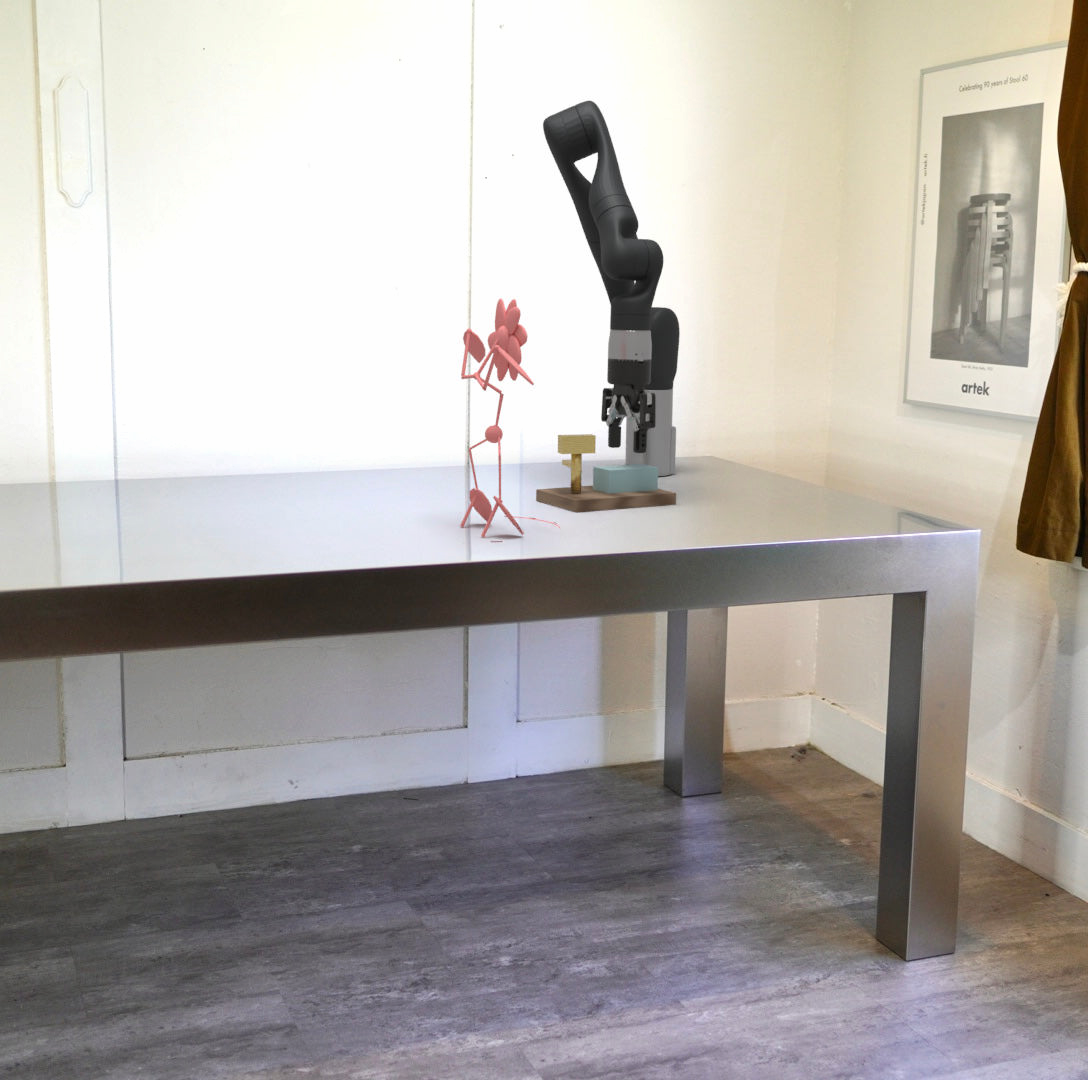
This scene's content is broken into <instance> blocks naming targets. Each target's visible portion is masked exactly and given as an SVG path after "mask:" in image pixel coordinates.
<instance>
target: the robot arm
mask: <svg viewBox="0 0 1088 1080" xmlns="http://www.w3.org/2000/svg"><path fill="white" fill-rule="evenodd" d="M542 123H543V124H542V128H543V134H544V137H545V141H546V143H547V146H548V148H549V150H550V153H551V155H552V157H553V159H554V162H555V164H556V166H557V168H558V170H559V173H560V174H561V177H562V179H563V181H564V183H565V186H566V187H567V191H568V193H569V195H570V198H571V200H572V202H573V205H574V207H575V211H576V213H577V216H578V218H579V221H580V224H581V228H582V230H583V234H584V236H585V239H586V242H587V245H588V247H589V251H590V252H591V255H592V257H593V259H594V261H595V264H596V266H597V269H598V272H599V274H600V277H601V280H602V283H603V285H604V289H605V291H606V295H607V297H608V300H609V304H610V321H609V322H610V323H609V329H610V330H609V337H608V341H607V342H608V347H607V376H606V377H607V379H606V381H607V383H608V385H609V384H610V385H613V387H604V388H603V389H602V399H601V400H602V401H601V416H600V418H601V422H603V423H604V422H605V423H606V426H607V427H608V431H607V433H608V435H607V437H608V438H607V439H608V440H607V446H608V447H609V448H611V449H614V448H616V449H617V448H620V447H621V444H622V424H623V421H624V419H625V418H626V420H625V421H626V424H625V462H624V465H631V464H645V465H649V466H654V467H658V477H665V476H669V475H675V474H676V448H677V428H676V426H673V403H674V401H673V400H674V399H673V398H674V382H675V378H676V376H677V375H676V374H677V371H678V361H679V360H678V359H679V346H680V335H681V334H680V323H679V319H678V316H677V315H676V313H675V311H674V310H672V309H671V308H669V307H662V306H657V307H655V306H653V302H654V299H655V296H656V292H657V288H658V285H659V282H660V279H661V275H662V271H663V268H664V254H663V251H662V250H663V249H662V247H661V246H660V245H659V243H658V242H657V241H655V240H653V239H649V238H648V239H644V238H638V235H637V233H638V230H639V220H638V217H637V214H636V212H635V210H634V207H633V205H632V202H631V201H630V197H629V195H628V193H627V190H626V187H625V185H624V182H623V178H622V173H621V169H620V165H619V162H618V158H617V154H616V150H615V147H614V144H613V140H612V137H611V134H610V130H609V127H608V125H607V122H606V120H605V117H604V115H603V112H602V111H601V109H600V108H599V106H598V105H597V104H596V103H595V102H594V101H593V100H585V101H582V102H579V103H577V104H575V105H572V106H569V107H567V108H565V109H563V110H560V111H558V112H556V113H554V114H551V115H549V116H547V117H545V118H544V120H543V122H542ZM594 154H597V162H596V166H595V167H596V168H595V171H594V175H593V178H592V181H591V182H590V180H588V179H587V178H586V177H585V175H583V174H582V172H581V171H580V170H579V168H578V167H577V166H576V162H578V161H581V160H583V159H585V158H588V157H590V156H592V155H594Z"/></svg>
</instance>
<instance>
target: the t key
mask: <svg viewBox="0 0 1088 1080" xmlns="http://www.w3.org/2000/svg"><path fill="white" fill-rule="evenodd" d="M596 438H597V437H596V435H594V434H590V433H589V434H587V433H586V434H558V435H557V453H558V454H560V455H570V458H571V459H562V461H561V465H562V466H566V468H567V467H568V468H570V487H571V493H581V486H582V470H583V468H582V466H583V465H582V464H583V463H582V461H583V459H582V457H583V456H582V455H584V454H596Z"/></svg>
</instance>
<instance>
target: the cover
mask: <svg viewBox="0 0 1088 1080" xmlns="http://www.w3.org/2000/svg"><path fill="white" fill-rule="evenodd" d="M592 467H593V468H592V473H593V474H592V485H593V490H597V491H601V492H605V493H609V494H610V493H624V492H637V491H651V490H658V489H659V487H658V486H659V485H658V484H659V483H658V482H659V476H658V467H654V466H649V465H645V464H631V465H625V464H617V465H616V464H615V465H603V466H592Z"/></svg>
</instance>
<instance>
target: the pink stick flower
mask: <svg viewBox="0 0 1088 1080" xmlns="http://www.w3.org/2000/svg"><path fill="white" fill-rule="evenodd" d="M517 304H518V303H517V300H516V299H515V298H514V299H513V298H512V300H510V301H509V303H508V306H507V308H506V307H505V303H504V300H503V298H499V299H498V301H497V303H496V307H495V316H494V317H495V318H494V330H495V331H492V332H491V333H490V334H488V337H487V345H488V348H489V352H488V354H487V355H486V348H485V345H484V342H483V341H482V339H481V338H480V337H479V334H476V332H474V331H473V330H472V329H471V328H467V329H466V331H464V333H463V337H462V340H463V345H464V352H463V353H464V354H463V360H462V366H461V375H460V376H461V380H467V379H468V380H469V379H474V380H476V381H477V383H478V385H479V386H480V387H481V389H482V390H483V391H484V392H485V391H487V388H488V387H489V388H491V389H492V390H493V391H495V393H497V394H499V399H498V405H497V410H496V411H497V412H496V419H495V424H493V425H489V426H488V427H487V428H486V429H485V431H484V437H485V438H484V439H483V440H480V442H478V443H476V444H474V445H472V446H471V447H469V448H468V454H469V459H470V464H471V470H472V471H471V472H472V476H473V480H474V485H475V487H473V488H472V489H470V490H469V501H470V503H469V505H468V508H467V510H466V512H465V514H464V516H463V519H462V521H461V523H460V525H459V527H461V528H464V526H465V525H466V522H467V521H468V518H469V515H470V514H471V511H472V509H473V508H474V510H475V512H476V513H478V515H480V516H481V518H482V519H483V520H484V521H485V522H486V524H485V526H484V528H483V530H482V533H481V534H480V536H481V537H482V538H485V537H486V534H487V532H488V530H489V527H490V526H491V524H492V521H493V519H494V517H495V515H496V512H497V510H498V508H500V510H501V511H502V512H503V514H504V518H507V519H508V520H509V522H511V524H512V525H513V526H514V527H515V529H517V530H518V531H519V533H520V534H521V535H522V536H523V535H525V532H524V530H522V528H521V526H520V525H519V523H518V522H517V520H516V519H515V518H517V519H527V520H534V521H541V522H544V523H549V524H552V525H554V526H557V527H558V528H559V529H561V527H560V526H559V525H558V524H557V522H555V521H553V522H552V521H548V520H544V519H538V518H535V517H528V516H527V517H521V516H514V515H512V514H511V512H510V511H509V510H508V508H507V507H506V506H505V505H504V502H503V500H502V451H501V449H502V448H501V447H502V446H501V440H502V439H503V432H504V431H503V430H502V429H501V428H500V426H499V420H500V416H501V411H502V405H503V402H504V401H503V400H504V394H503V393H502V392H503V391H502V390H501V389H499V388H497V387H496V386H495V385H493V384H491V383H489V382H490V377H491V376H492V375H491V374H492V372H493V368H494V367H495V368H496V377H497V380H498V382H503V380H504V379H505V377H506V375H507V373H509V376H510V379H512V381H513V382H514V381H517V379H518V374H519V375H520V376H521V377H522V378H523V379H524V380H526V381H527V382H528V383H529V384H530V385H531V386H534V385H535V383H534V381H533V380H532V379H531V378H530V376H529V375H528V373H527V372H526V371H525V370H524V369H523V368H522V367H521V363H522V349H521V347H523V346H524V345H526V343H527V342H528V332H527V330H526V328H525V327H524V326H523V325H522V324H520V319H521V315H522V314H521V308H519V307H518V306H517ZM468 353H469V355H471V357H472V358H473V359H474V360H475V361H476V362H477V363H478V364H480V363H481V362H482V361H483V362H482V364H481V366H480V367H479V368H478V370H477V371H476V372H474V373H473V374H467V375H466V368H467V362H468ZM485 356H486V357H485ZM491 356H492V357H491ZM490 358H491V360H490ZM483 359H484V360H483ZM489 360H490V362H489V363H490V364H489V367H488V370H487V373H486V377H485V379H483V378H482V377H481V373H482V372H483V370H484V368H485V367H486V365H487V362H488V361H489ZM485 442H490V443H491V444H497V447H498V449H497V450H498V453H497V455H498V497H497V496H496V495H493V496H492V498H493V500H494V501H495V504H494V507H492V504H491V502H490V499H488V497H487V495H485V493H484V492H483V491H482V490H480V489H479V487H478V481H477V480H478V479H477V476H476V471H475V465H474V464H475V463H474V461H473V454H472V450H473V449H474V448H476V447H478V446H480V445H481V444H484V443H485ZM490 543H503V540H495V541H492V540H491V541H490Z"/></svg>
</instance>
